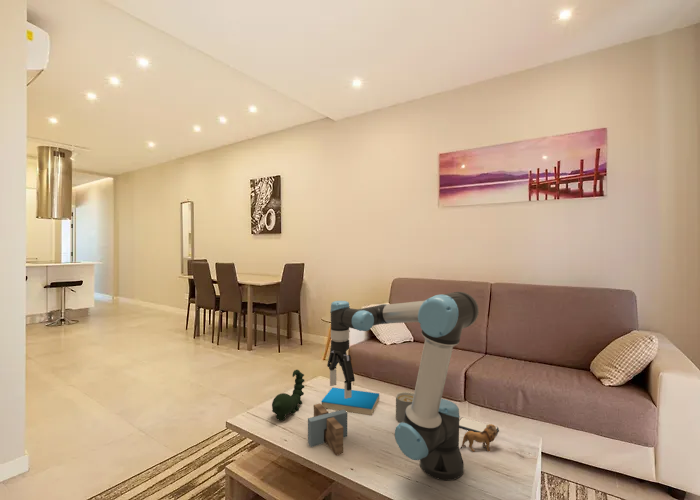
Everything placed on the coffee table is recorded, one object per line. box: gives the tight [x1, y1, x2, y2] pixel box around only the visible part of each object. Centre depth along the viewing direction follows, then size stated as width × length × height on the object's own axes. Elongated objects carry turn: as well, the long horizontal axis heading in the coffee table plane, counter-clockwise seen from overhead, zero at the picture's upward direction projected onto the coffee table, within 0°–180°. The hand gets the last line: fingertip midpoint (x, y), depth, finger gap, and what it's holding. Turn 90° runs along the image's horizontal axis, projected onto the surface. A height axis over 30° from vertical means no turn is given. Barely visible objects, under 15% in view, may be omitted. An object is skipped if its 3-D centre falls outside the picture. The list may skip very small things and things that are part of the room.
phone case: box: [459, 417, 500, 435], centre depth 152 cm, size 9×2×16 cm
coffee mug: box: [395, 391, 414, 423], centre depth 161 cm, size 13×10×10 cm
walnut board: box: [313, 403, 344, 456], centre depth 143 cm, size 22×3×10 cm, turn 28°
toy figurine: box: [271, 369, 306, 422], centre depth 164 cm, size 9×19×25 cm
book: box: [320, 387, 380, 416], centre depth 174 cm, size 17×4×25 cm
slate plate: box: [307, 409, 348, 448], centre depth 143 cm, size 16×3×10 cm, turn 118°
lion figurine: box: [459, 423, 498, 452], centre depth 137 cm, size 15×5×9 cm, turn 99°
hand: (340, 391), depth 145 cm, fingers open, 13 cm apart
